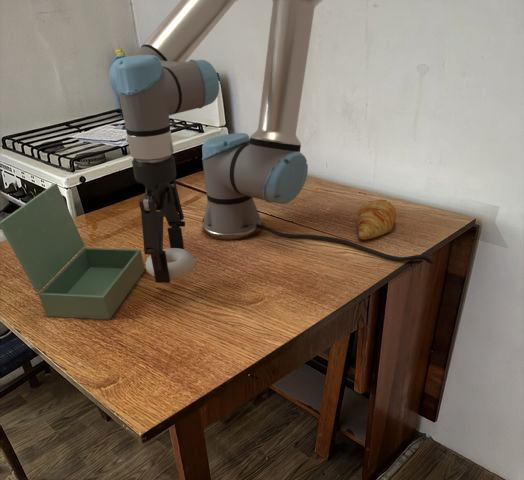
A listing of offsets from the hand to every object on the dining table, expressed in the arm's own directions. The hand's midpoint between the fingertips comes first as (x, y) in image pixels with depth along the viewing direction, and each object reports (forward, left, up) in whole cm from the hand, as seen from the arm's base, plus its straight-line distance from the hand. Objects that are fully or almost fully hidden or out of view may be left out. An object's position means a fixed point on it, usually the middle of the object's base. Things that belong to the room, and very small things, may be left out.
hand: (171, 269), depth 102 cm
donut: (0, 0, -1) cm, 1 cm away
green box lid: (+25, 0, +7) cm, 26 cm away
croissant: (-42, -38, -7) cm, 57 cm away
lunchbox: (+17, 0, -6) cm, 19 cm away
